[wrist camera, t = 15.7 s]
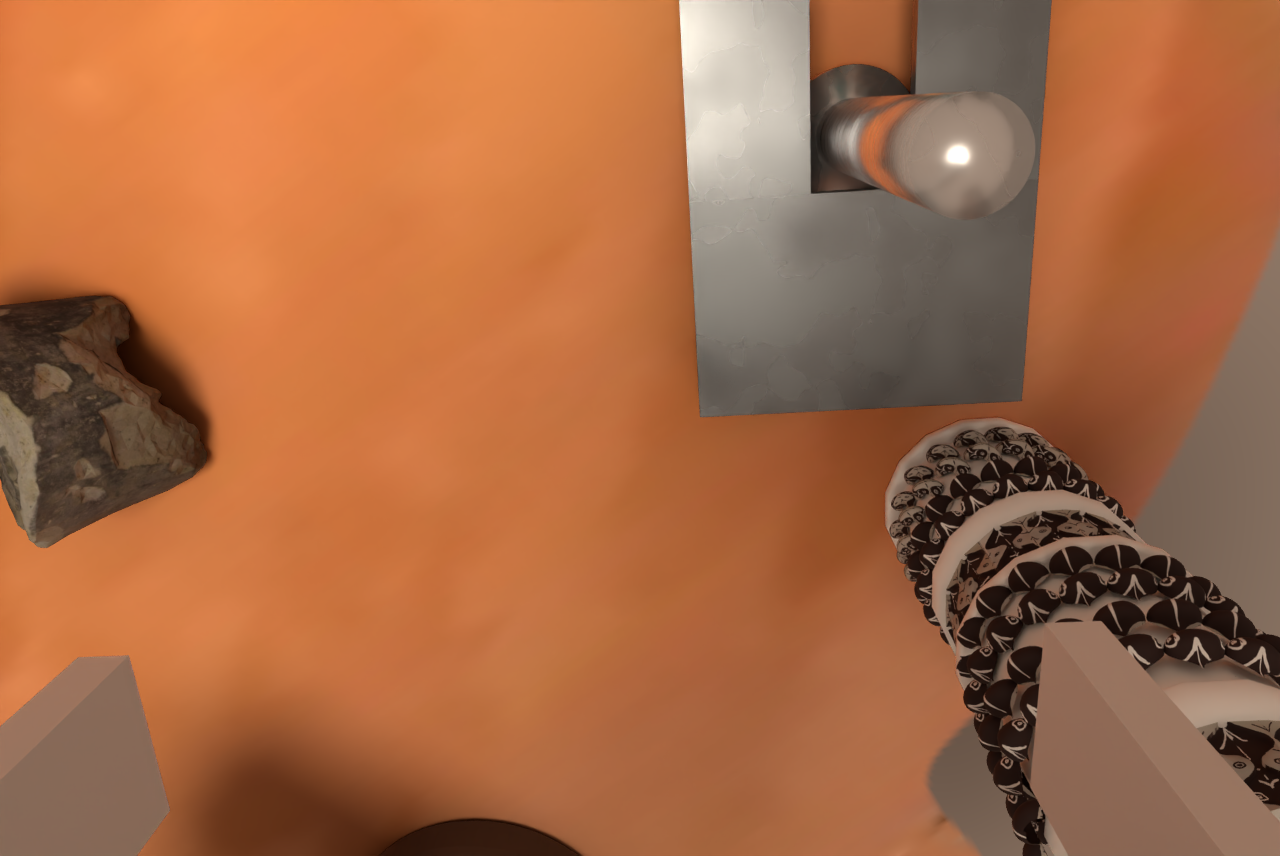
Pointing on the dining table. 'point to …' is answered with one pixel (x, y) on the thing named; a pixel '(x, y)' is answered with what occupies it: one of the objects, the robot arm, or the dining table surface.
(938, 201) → the steel peg
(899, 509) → the decorative candle
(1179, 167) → the dining table surface
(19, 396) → the fossil
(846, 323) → the keyhole plate
